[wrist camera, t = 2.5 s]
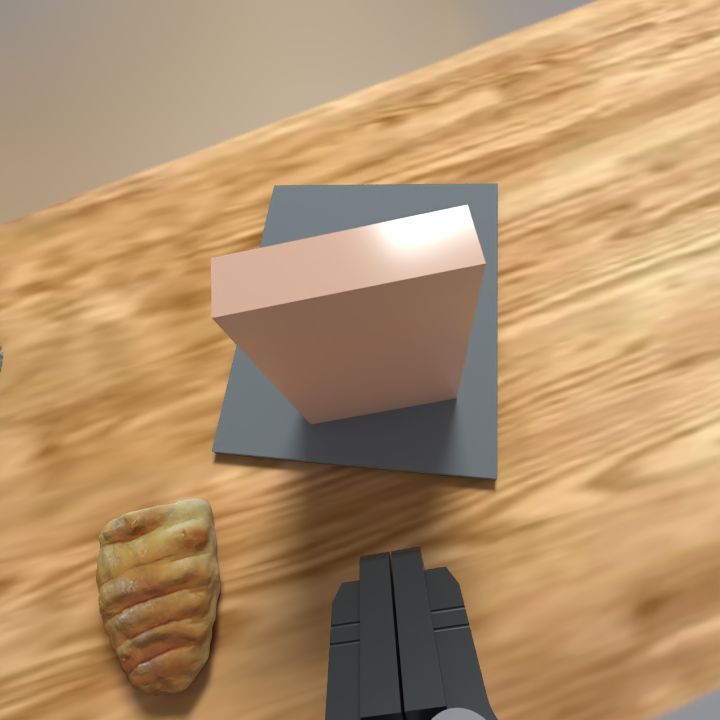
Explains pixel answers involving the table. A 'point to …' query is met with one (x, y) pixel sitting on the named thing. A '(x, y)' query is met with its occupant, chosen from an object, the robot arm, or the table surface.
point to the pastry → (160, 592)
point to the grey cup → (0, 355)
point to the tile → (357, 313)
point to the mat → (394, 427)
